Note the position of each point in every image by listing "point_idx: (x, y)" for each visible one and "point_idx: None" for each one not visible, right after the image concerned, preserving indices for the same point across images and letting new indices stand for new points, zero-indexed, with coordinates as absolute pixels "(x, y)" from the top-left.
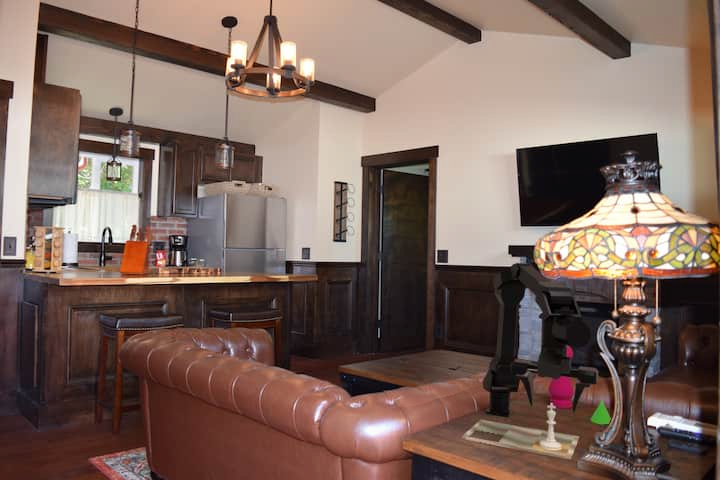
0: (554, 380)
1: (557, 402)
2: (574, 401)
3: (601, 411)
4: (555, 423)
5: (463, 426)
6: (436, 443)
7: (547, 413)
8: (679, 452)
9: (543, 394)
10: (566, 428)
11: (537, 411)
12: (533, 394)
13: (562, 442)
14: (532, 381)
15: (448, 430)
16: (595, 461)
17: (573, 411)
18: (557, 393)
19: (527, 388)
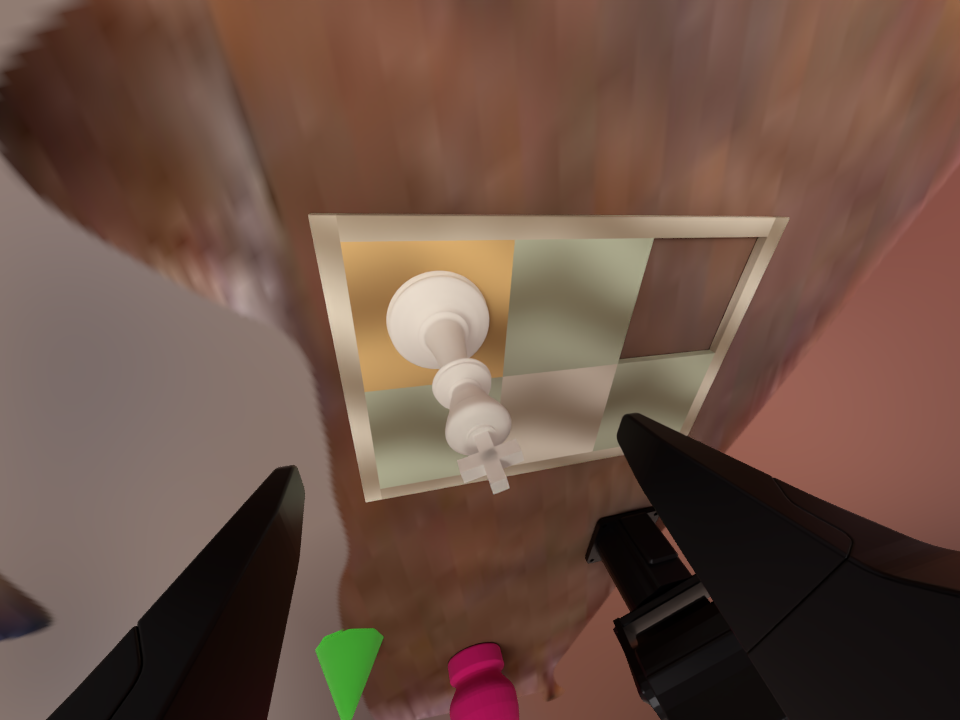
0: None
1: (483, 659)
2: (233, 565)
3: (346, 681)
4: (433, 381)
5: (739, 364)
6: (904, 78)
7: (501, 404)
8: None
9: (519, 676)
10: (428, 546)
11: (524, 597)
12: (664, 518)
13: (404, 407)
14: (770, 656)
15: (800, 291)
16: (189, 273)
17: (285, 470)
18: (491, 691)
19: (811, 507)
